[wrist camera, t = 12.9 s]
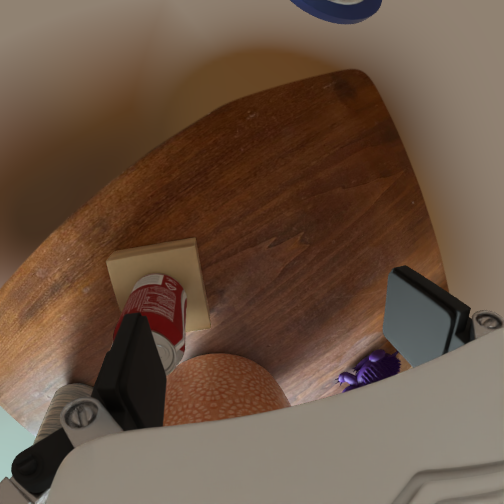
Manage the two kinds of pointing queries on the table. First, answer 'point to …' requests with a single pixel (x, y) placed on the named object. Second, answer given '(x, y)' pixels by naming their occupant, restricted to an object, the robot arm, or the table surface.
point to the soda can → (161, 314)
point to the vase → (61, 407)
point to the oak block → (166, 262)
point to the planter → (219, 390)
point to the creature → (371, 370)
